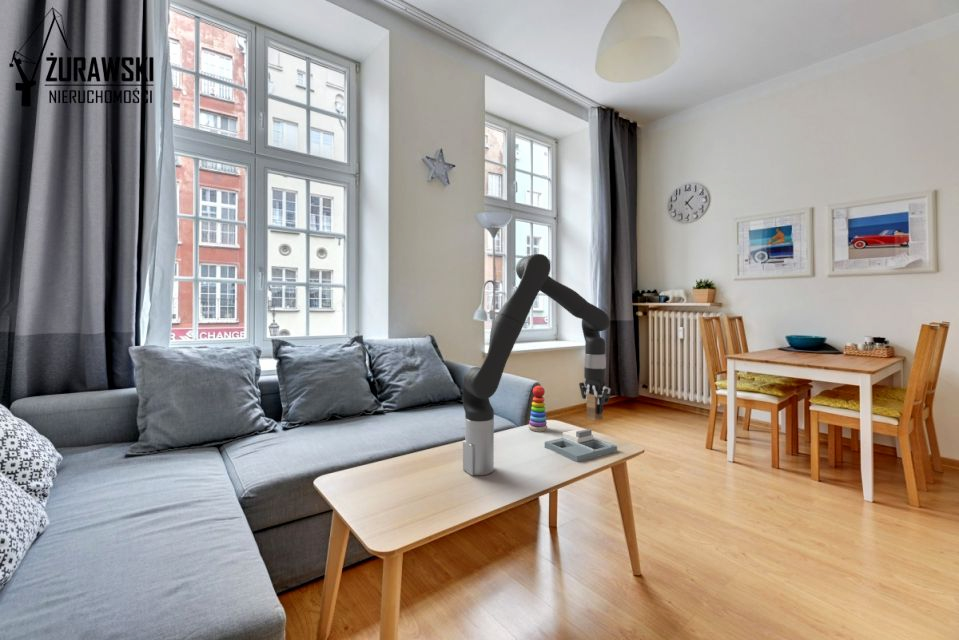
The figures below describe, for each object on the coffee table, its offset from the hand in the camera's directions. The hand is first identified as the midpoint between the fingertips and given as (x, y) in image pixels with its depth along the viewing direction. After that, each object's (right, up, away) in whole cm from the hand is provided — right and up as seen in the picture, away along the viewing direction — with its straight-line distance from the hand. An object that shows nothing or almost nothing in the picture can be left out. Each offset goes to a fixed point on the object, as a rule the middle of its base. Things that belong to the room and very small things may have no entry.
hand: (594, 412), depth 150 cm
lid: (-4, -12, +8) cm, 15 cm away
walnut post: (0, -2, 0) cm, 2 cm away
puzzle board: (-5, -14, +2) cm, 15 cm away
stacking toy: (-17, -13, +27) cm, 34 cm away
